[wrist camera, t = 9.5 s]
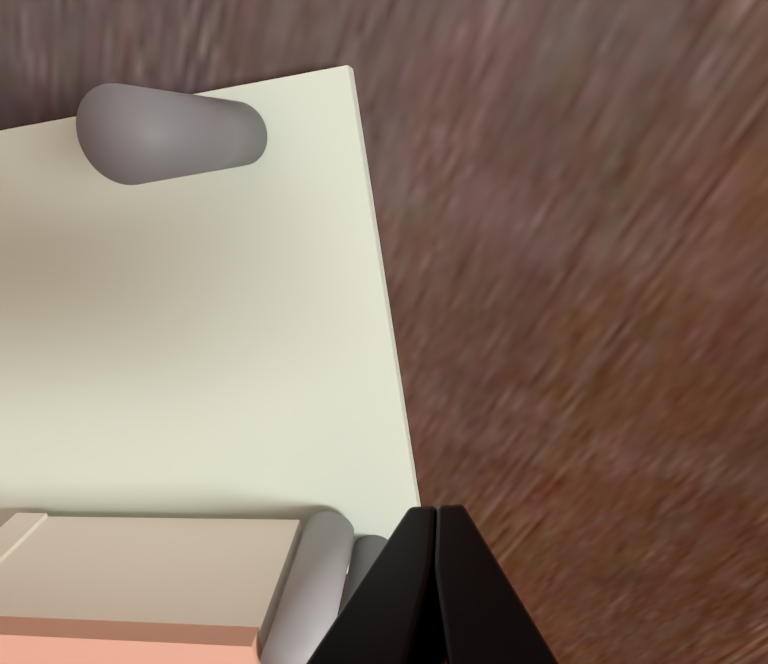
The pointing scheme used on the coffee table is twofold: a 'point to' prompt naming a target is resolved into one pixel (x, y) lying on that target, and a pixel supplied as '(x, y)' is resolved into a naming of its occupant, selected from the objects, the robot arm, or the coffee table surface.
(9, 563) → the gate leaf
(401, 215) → the coffee table surface
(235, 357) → the gate base
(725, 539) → the coffee table surface
